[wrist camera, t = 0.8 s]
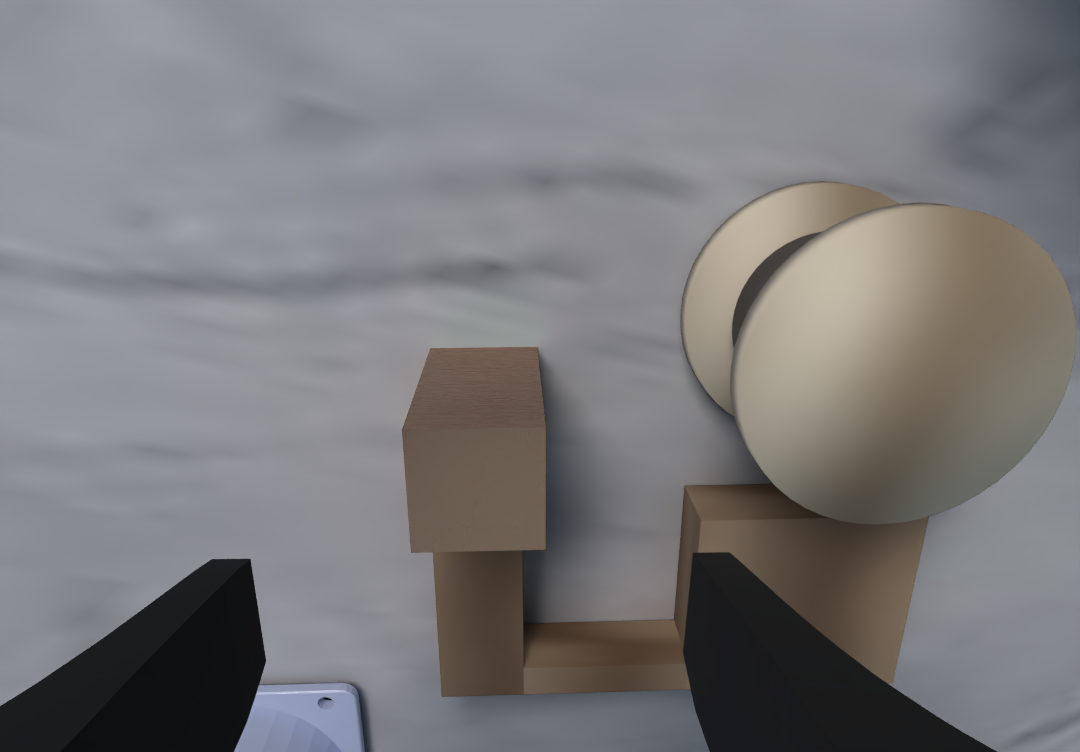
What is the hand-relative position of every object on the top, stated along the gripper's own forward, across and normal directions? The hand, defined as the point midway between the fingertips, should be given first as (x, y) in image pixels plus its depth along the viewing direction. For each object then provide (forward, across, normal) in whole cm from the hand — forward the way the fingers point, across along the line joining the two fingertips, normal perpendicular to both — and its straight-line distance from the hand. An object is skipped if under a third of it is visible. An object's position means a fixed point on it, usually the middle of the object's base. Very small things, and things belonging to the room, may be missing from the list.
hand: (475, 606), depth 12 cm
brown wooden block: (+9, 0, 0) cm, 9 cm away
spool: (+9, -9, -2) cm, 13 cm away
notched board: (+9, -5, +6) cm, 12 cm away
